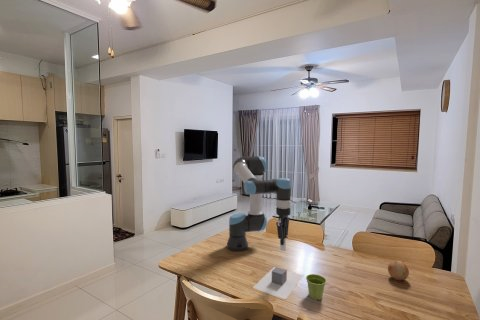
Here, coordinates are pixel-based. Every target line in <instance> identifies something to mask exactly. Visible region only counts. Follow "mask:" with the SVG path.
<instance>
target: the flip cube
mask: <svg viewBox="0 0 480 320" xmlns="http://www.w3.org/2000/svg"><path fill="white" fill-rule="evenodd" d="M275 267H276V268H275V269H274V270H273V271H272V283H276V284H279V285H283V284H284V283H285V282H286V281H287V271H288V270H287V269H286V268H283V267H279V266H275Z"/></svg>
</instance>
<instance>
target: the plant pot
mask: <svg viewBox="0 0 480 320" xmlns="http://www.w3.org/2000/svg"><path fill="white" fill-rule="evenodd" d="M305 280H306V283H307V288H308V295H309V296H308V297H310V298H311V299H313V300H316V301H317V300H322V299H323V294H324V291H325V290H324V289H325V286H326V283H327V279H326V277H324V276H323V275H320V274H316V273H310V274H307V275H306V276H305Z"/></svg>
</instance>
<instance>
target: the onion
mask: <svg viewBox="0 0 480 320" xmlns="http://www.w3.org/2000/svg"><path fill="white" fill-rule="evenodd" d="M387 272H388V274H389V275H390V277H391V278H393V279H394V280H396V281H404V280H406V279H407V278H408V277H409V276H410V271H409V267H408V266H407V265H406V263H405V262H403V261H402V260H396V259H395V260H392V261H390V262H389V263H388V265H387Z"/></svg>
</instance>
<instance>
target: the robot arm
mask: <svg viewBox="0 0 480 320" xmlns="http://www.w3.org/2000/svg"><path fill="white" fill-rule="evenodd" d="M267 168H268V167H267V161H266V158H265V157H263V156H259V155H256V156H255V155H254V156H253V155H251V156H250V155H249V156H239V157H238V158H237V159H236V160H235V161H234V162H233V165H232V170H233V172H234V173H235V174H236V175H238V177H239V178H240V180H241V181H242V182H243V189H244V193H245V194H246V195H249V210H248V211H247V215H246V214H245V213H244V212H238V213H237V212H236V213H234V214H232V215H230V216H229V219H228V220H229V221H228V227H229V228H228V229H229V233H228V234H229V237H228V240H227V242H226V248H227V250H228V251H229V250H230V251H231V250H232V251H233V252H241V251H242V252H243V251H245V250H248V248H249V243H248V240H247V236H246V235H247V234H246V233H253V232H260V231H265V229H266V227H267V225H268V219H267V216H266V214H265V212H264V210H263V204H262V200H263V199H262V197H263V195H262V194H267V195H268V194H276V200H275V201H276V202H275V203H276V204H275V206H276V208H275V209H276V210H275V212H276V215H278V221H277V222H276V224H275V225H276V228H277V231H276V232H277V239H280V240H279V250H280V251H283V252H285V251H286V250H287V249H286V248H287V239H288V236H289V225H290V217H289V216H290V215H291V204H292V202H291V191H292V190H291V189H292V185H291V184H292V183H291V179H290V178H286V177H278V178H271V179H265V180H262V178H263V176H265V173H266V172H267ZM232 251H231V252H232Z"/></svg>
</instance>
